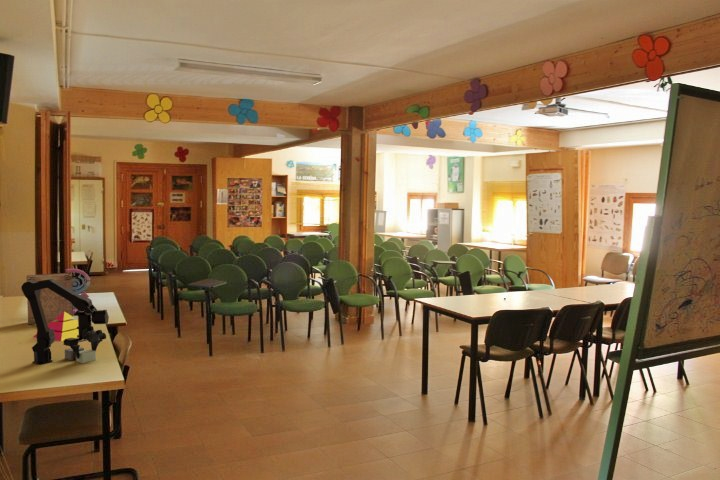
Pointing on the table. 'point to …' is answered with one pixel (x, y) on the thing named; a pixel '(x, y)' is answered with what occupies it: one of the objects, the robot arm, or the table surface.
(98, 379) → the table surface
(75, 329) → the pyramid toy
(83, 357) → the sage green end cap
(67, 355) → the charcoal end cap
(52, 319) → the book
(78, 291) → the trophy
